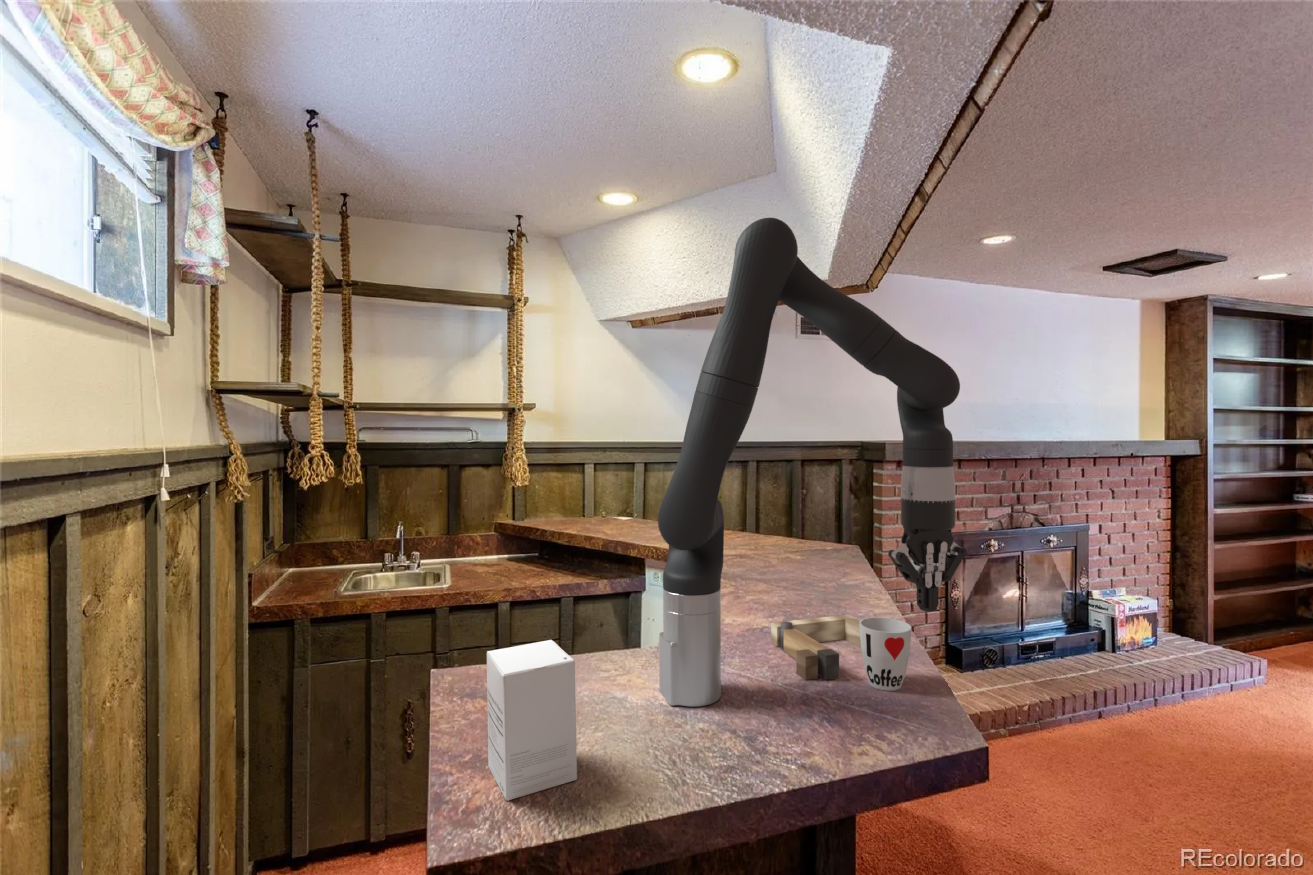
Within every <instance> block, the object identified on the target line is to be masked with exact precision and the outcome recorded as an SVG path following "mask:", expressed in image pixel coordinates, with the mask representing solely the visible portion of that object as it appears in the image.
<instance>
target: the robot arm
mask: <svg viewBox="0 0 1313 875" xmlns="http://www.w3.org/2000/svg"><path fill="white" fill-rule="evenodd" d="M798 250H799V249H798V243H797V239H796V235H795V234H794V232H793V230H792V229H791V227H790V226H789V225H788V224H787V223H786V222H785V221H783V220H781V219H778V218H776V217H763V218H760V219H757V220H755V221H754V222H752V223H750V224H749V225H748V226H747V227H746V228H745V229H744V230H743V231H742V232H741V233H740V235H739V237H738V238H737V241H736V244H735V249H734V259H733V265H732V271H731V277H730V282H729V287H728V291H727V297H726V300H725V304H724V306H723V307H724V308H723V310H722V314H721V315H720V319H719V321H718V323H717V326H716V329H715V331H714V333H713V336H712V339H711V341H710V344H709V346H708V348H707V352H706V355H705V359H704V361H703V364H702V365H701V366H702V367H701V370H700V374H699V376H698V380H697V384H696V388H695V391H694V395H693V399H692V403H691V406H690V410H689V411H690V412H689V415H688V419H687V423H686V426H685V432H684V435H683V440H682V441H683V442H682V445H681V450H680V454H679V457H678V459H677V462H676V466H675V468H674V471H673V474H672V476H671V479H670V481H669V482H668V483H669V484H668V486H667V489H666V491H665V493H664V496H663V499H662V500H661V502H660V506H659V509H658V513H657V525H658V526H657V527H658V530H659V533H660V536H661V537H662V539H663V540H664V542H666V543H667V545H668V551H667V552H668V553H667V558H666V559H667V560H666V563H665V567H664V569H663V574H662V617H663V618H662V626H663V627H662V630H663V631H661V632H659V637H658V640H659V641H658V642H659V645H658V648H659V650H658V651H659V653H658V654H659V657H658V658H659V659H658V660H659V662H658V663H659V666H658V667H659V668H658V669H659V673H658V676H659V691H660V693H661V694H662V695H663V697H664V698H665V700H666V701H667V703H669V705H670V706H684V707H703V706H708V705H712V704H714V703H717V701H718V700H720V698H721V696H722V653H721V652H722V650H721V648H722V645H721V644H722V643H721V642H722V641H721V640H722V638H721V637H722V636H721V634H722V633H721V630H722V629H721V628H722V627H721V622H722V621H721V620H722V617H721V616H722V614H721V612H722V610H721V608H722V607H721V605H722V604H721V601H722V600H721V594H722V593H721V591H722V590H721V588H722V586H721V585H722V584H721V583H722V582H721V581H722V573H723V567H724V553H725V552H724V548H725V547H724V544H725V542H724V541H725V540H724V539H725V515H724V509H723V506H722V505H723V504H722V503H721V501H720V499H719V498H718V497H719V493H720V489H721V484H722V481H723V477H724V473H725V471H726V467H727V464H729V461H730V458H731V457H732V455H733V452H734V451H735V449H736V446H737V445H738V443H739V441H740V439H741V437H742V435H743V432H744V431H745V429H746V425H747V424H748V421H749V419H750V416H751V413H752V411H753V408H754V404H755V401H756V397H757V394H758V390H759V387H760V384H761V380H762V375H763V370H764V365H765V361H766V356H767V351H768V347H769V346H768V345H769V339H770V333H771V327H772V323H773V322H772V321H773V318H774V315H775V311H776V309H777V306H778V303H779V302H781V303H782V304H784V305H785V306H787V307H788V308H789V309H791V310H793V311H794V312H796V313H797V314H798V315H800V316H801V317H803V318H804V319H805V320H807V322H809V323H810V324H812V326H814V327H816V328H817V329H818V330H819V331H820V332H821V333H822V334H824V335H825V337H827V338H829V340H831V341H832V342H833V343H834V344H835V345H836V346H838V347H839V348H840V349H841V350H842V351H844V352H845V353H846V354H847V355H849V357H851V358H853V359H854V360H855V361H856V362H857V363H859V364H860V365H861V366H863V367H864V368H865V369H866V370H867V371H869V372H871V373H873V374H874V375H877V376H881V377H884V378H885V379H887V380H889V381H890V382H891V383H893V385H895V386H897V388H896V390H897V391H896V403H897V411H898V418H899V423H900V428H901V431H902V470H901V475H900V477H901V478H900V523H901V526H902V528H903V533H902V535H901V540H900V541H901V544H900V545H899V546H898V547H897V548H896V549H890V550H889V551H888V557H889V559H891V562H893V564H894V566H895V567H896V569H897V570H898V571H899V572H900V574H901V575H902V577H903V579H904V580H905V581H906V582H910V583H912V584H915V586H916V605H917V607H918V609H919V610H921V611H923V612H925V613H932V612H937V610H938V607H939V604H940V601H939V597H940V596H939V591H940V590H939V589H940V587H941V585H942V583H945V582H951V580H952V578H953V576H954V575H955V573H956V571H957V570H958V568H959V566H960V564H961V563H962V561H963V559H964V558H965V556H966V554H967V549H966V548H965V547H963V546H962V547H961V546H960V545H958V544H957V543H956V542H955V538H954V537H955V536H954V534H953V532H952V529H954V528H955V527H956V480H955V479H956V478H955V472H954V439H953V434H952V432H951V430H949V429H948V428H947V427H946V425H945V424H946V423H945V414H944V408H946V407H949V406H950V405H952V404H953V403H954V402H955V401H956V399H957V398H958V396H959V394H960V390H961V381H960V379H959V376H958V374H957V373H956V371H955V370H954V369H953V367H952V366H951V365H949V364H948V363H947V361H944V360H943V359H942V358H940V356H937V355H936V354H934V353H932V352H931V351H929V350H928V349H926V348H924V347H922V346H921V345H919V344H917V343H915V342H913V341H911V340H909V339H908V338H906V337H905V336H904V335H902V334H901V333H900V332H899V331H898V330H897V329H896V328H894V327H893V326H892V325H891V324H890V323H889V322H887V321H886V320H885V319H883V318H882V317H881V316H879V315H878V314H877V313H876V312H874V311H873V310H872V309H870V308H868V307H867V306H866V305H864V304H862V303H861V302H859V301H857V300H855V299H853V298H851V297H850V296H848V295H846V294H844V292H841V291H839V290H838V289H836V288H834V287H833V286H832V285H830V284H829V283H827V282H825V281H824V280H823V279H821V278H820V277H819V276H818V275H816V273H814V272H813V271H812V270H811V269H810V268H809V267H808V266H807V265H806V264H805V262H803V261H802V260H801V258H800V257H799V256H798Z"/></svg>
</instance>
